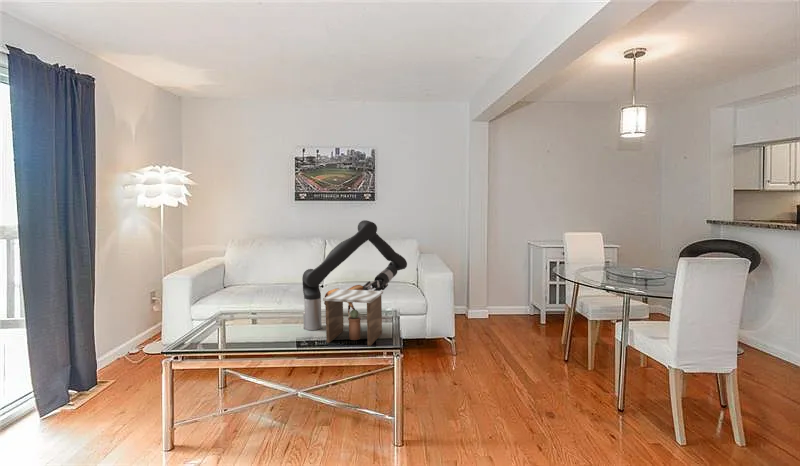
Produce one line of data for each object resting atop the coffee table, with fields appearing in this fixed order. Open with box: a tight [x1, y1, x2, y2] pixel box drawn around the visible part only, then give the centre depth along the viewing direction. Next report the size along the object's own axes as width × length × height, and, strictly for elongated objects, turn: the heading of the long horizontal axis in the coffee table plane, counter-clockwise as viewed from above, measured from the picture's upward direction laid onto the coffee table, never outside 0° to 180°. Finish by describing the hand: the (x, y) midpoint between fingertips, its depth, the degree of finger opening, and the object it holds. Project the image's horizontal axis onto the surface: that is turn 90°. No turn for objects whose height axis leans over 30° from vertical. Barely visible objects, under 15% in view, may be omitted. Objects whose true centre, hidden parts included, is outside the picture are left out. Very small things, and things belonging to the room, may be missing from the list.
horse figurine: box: [323, 284, 364, 317], centre depth 291 cm, size 31×8×21 cm, turn 61°
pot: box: [347, 309, 362, 341], centre depth 250 cm, size 7×7×15 cm
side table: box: [322, 288, 384, 347], centre depth 249 cm, size 25×22×23 cm
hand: (368, 292), depth 267 cm, fingers open, 8 cm apart
